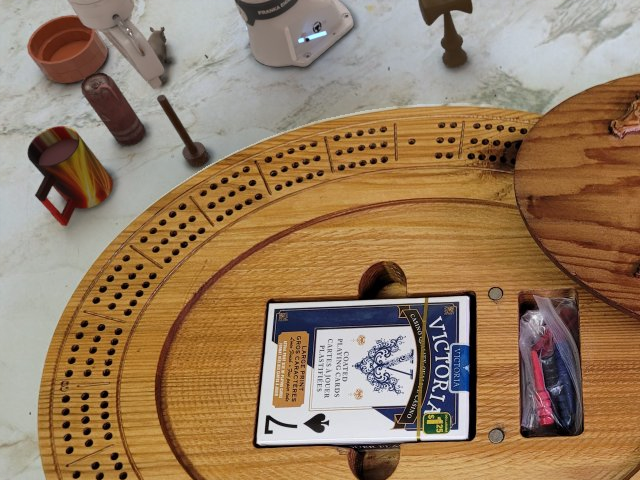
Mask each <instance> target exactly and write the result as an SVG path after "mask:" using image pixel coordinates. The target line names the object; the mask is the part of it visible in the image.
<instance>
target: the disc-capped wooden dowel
mask: <svg viewBox="0 0 640 480" xmlns="http://www.w3.org/2000/svg"><path fill="white" fill-rule="evenodd" d="M156 100H157V102H158V104H159V105H160V107H161V109H162V110H163V112H164V113H165V115H166V117H167V118H168V120H169V122H170V123H171V125H172V127H173V128H174V130H175V131H176V133H177V134H178V136H179V138H180V139H181V141H182V142H183V144H184V147H183V149H182V153H181V155H182V157H183V158H184V160H185V161H186V162H187V164H188V166H190V167H192V168H200V167H203V166H205V165H206V164H207V163H208V162H209V160H210V154H209V152H208V150H207V148H206V146H205V145H204V144H203V143H202V142H200V141H193V139H192V137H191V136H190V134H189V132H188V131H187V129H186V127H185V126H184V125H183V123H182V121H181V119H180V118H179V116H178V114H177V112H176V111H175V109H174V108H173V106H172V105H171V103H170V101H169V100H168V98H167V96H166V95H165V94H159V95H158V96H157V97H156Z"/></svg>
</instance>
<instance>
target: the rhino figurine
mask: <svg viewBox="0 0 640 480" xmlns="http://www.w3.org/2000/svg"><path fill="white" fill-rule="evenodd" d="M149 31H150V32H151V33H150V35H149V38H148V39H147V41H148V43H149V44H150V46H151V47H152V49H153V51H154V52H155V54H156V56H157V57H158V59H159V61H160V62H161V64H162V65H163V64H166V65H167V64H171V63H172V60H171V58H168V52H167V51H168V48H167V45H166V43H167V41H168V39H167V38H166V35H165V31H166V28H165V26H162V27H160V30H156V29H154V28H153V27H151V26H149ZM158 77H159V79H160V81H161V82H162V84H161V85H164V84H165V83H167V82H166V79H165V78H164V77H162V75H160V76H158Z"/></svg>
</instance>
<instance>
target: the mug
mask: <svg viewBox="0 0 640 480" xmlns="http://www.w3.org/2000/svg"><path fill="white" fill-rule="evenodd" d="M27 158H28V160H29V161H30V162H31V163H32V164H33V165H34V167H35V168H36V169H37V170H38V171H39V172H40V174H41V175H42V176H43V178H42V181H41V183H40V185H39V186H38V188H37V190H36V192H35V194H34V196H35V198H36V199H37V200H38V201H39V202H40V203H41V204H42V205H43V207H45V208H46V209H47V211H49V213H50V215H52V217H53V218H54V219H55V220H56V221H57V222H58V224H60V225H61V226H62V227H68V224H69V223H70V220H71V218H72V216H73V214H74V212H75V210H76V209H79V210H80V209H81V210H85V209H91V208H93V207H96V206H98V205H99V204H101V203H103V202H104V201H105V200H106V199H107V198H108V197H109V196H110V195H111V193H112V191H113V187H114V180H113V177H112V176H111V174H110V173H109V172H108V170H107V169H106V168H105V166H104V165H103V164H102V162H101V161H100V160H99V158H98V157H97V156H96V155H95V153H94V152H93V151H92V149H91V148H90V147H89V146H88V145H87V143H86V142H85V140H83V138H82V137H81V135H80V134H79V133H78V132H77V131H76V130H75V129H74V128H73V127H70V126H65V125H59V126H58V125H57V126H53V127H49V128H47V129H45V130H43V131H41V132H40V133H38V134H37V135H36V136H35V137H34V138H33V139H32V140H31V142H30V143H29V145H28V147H27ZM52 188H53V189H54V190H55V191H56V192H57V193H58V195H60V196H61V197H62V199H63V200H64V201H65V205H64V207H63V209H62V211H60V210H58V208H57V207H56V206H55V205H54V204H53V203H52V202H51V200H49V198H48V196H49V194H50V192H51V190H52Z"/></svg>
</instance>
